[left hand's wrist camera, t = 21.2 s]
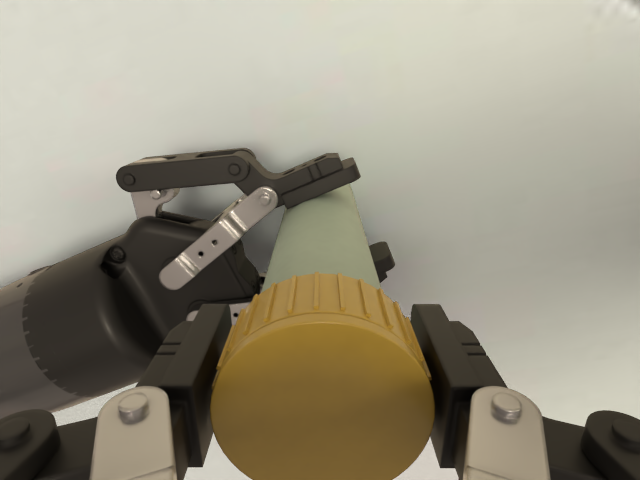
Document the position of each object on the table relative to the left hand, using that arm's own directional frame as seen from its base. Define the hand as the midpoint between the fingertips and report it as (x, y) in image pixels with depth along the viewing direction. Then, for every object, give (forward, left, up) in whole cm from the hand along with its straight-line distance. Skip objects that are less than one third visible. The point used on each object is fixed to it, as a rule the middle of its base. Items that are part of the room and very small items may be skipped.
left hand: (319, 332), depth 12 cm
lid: (0, 0, +3) cm, 3 cm away
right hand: (0, -3, -9) cm, 9 cm away
